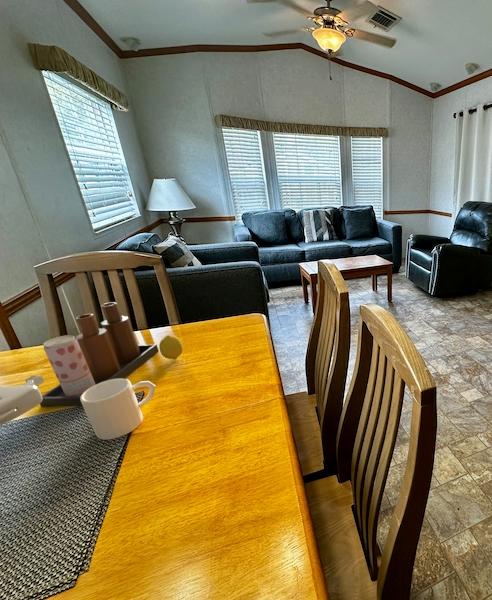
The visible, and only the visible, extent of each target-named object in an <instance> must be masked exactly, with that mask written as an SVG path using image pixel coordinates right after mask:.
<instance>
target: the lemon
mask: <svg viewBox="0 0 492 600" xmlns="http://www.w3.org/2000/svg"><path fill="white" fill-rule="evenodd" d="M158 346H159V348H158V349H159V352H160V355H162V356H163V358H165V359H167V360H168V359H169V360H174V361H175V360H177V358H178V357H180V356H181V355H182V353H183V350H184V347H183V346H184V345H183V343H182V341H181V340H180V338H179V337H177V336H175V335H169V334H168V335H166V336H165V337H162V339H161V340H160V341H159V345H158Z"/></svg>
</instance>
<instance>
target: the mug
mask: <svg viewBox="0 0 492 600" xmlns="http://www.w3.org/2000/svg"><path fill="white" fill-rule="evenodd" d="M142 387H147V388H148V390H149V391H148V394H147V395H146V396H145V397H144V398H143V399H142V400H141V401H139V402H138V399H137V396H136V394H135V390H136V389H138V388H142ZM156 387H157V385H156V384H154V383H153V382H151V381H149V380H142V381H138V382H136V383H135V384H133V385H132V383H131V380H129V379H127V378H125V379H122V378H120V379H112V380H107V381H104V382H101V383H99V384H96V385H94V386H92V387H90V388H89V389H87V390H86V391H85V392H84V393H83V394H82V395H81V397H80V401H81V403H82V405H83V406H82V408H83V409H84V412H85V414H86V416H87V418H88V421H89V423H90V426H91V428H92V429H93V432H94V434H95V436H96V437H97V438H98V439H99V440H104V441H106V440H108V441H109V440H113V439H118V438H120V437H123V436H126V435H127V434H129V433H131V432H133V431H135V429H137V428H138V427H139V426H140V425H141V424H142V422H143V420H144V416H143V413H142V410H141V407H142V406H144V405H146V404H147V403H148V402H149V401H151V400H152V399H153V397H154V394H155V391H156Z"/></svg>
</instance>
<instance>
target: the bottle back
mask: <svg viewBox="0 0 492 600" xmlns="http://www.w3.org/2000/svg"><path fill="white" fill-rule="evenodd" d="M101 309H102V311H103V314H104V317H105V320H102V321H101V322H100V325H101V329H106V330H107V333H108V336H109V338H110V341H111V344H112V346H113V349H114V352H115V354H116V357H117V359H118V362H119V364H125V363H129V362H132V361H133V360H134V359H136V358H137V357H138V356H140V355H141V353H140V350H139V347H138V345H139V344H138V342H137V339H136V335H135V333H134V330H133V327H132V324H131V321H130V318H129V317H128V316H127V315H122V314H121V312H120V309H119V305H118V303H117V302H116V301H109V302H106V303H103V304H101Z"/></svg>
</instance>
